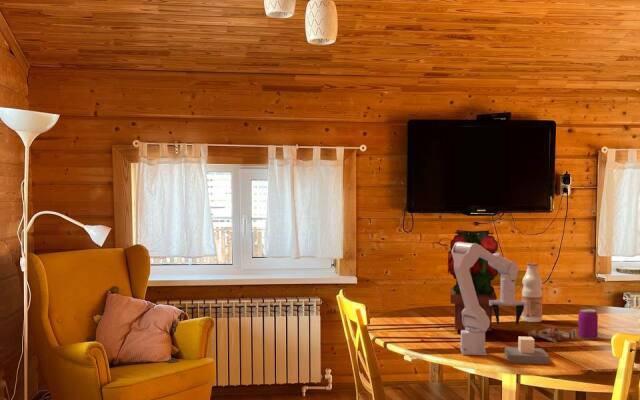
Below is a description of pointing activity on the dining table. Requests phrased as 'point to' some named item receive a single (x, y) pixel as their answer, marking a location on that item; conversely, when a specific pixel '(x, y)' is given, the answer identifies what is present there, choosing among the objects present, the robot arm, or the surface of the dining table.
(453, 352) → the dining table surface
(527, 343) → the cube
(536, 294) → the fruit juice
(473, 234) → the potted plant
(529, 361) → the plinth
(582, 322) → the beverage can
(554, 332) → the figurine
